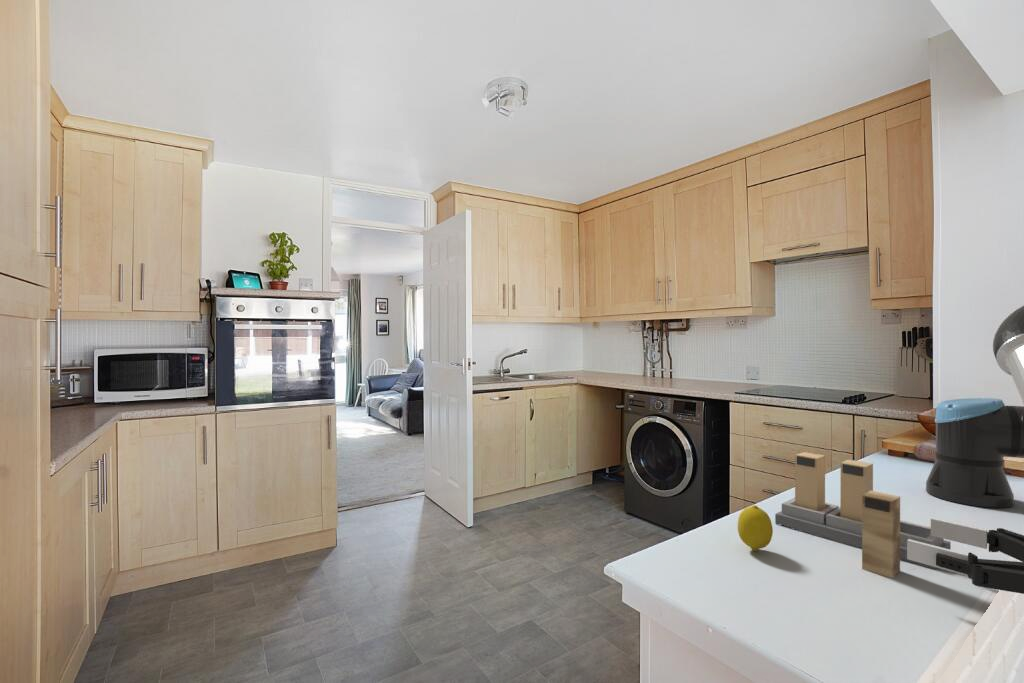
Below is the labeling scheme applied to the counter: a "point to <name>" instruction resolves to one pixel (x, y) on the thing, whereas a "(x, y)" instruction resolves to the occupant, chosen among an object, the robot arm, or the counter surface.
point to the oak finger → (881, 533)
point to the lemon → (755, 527)
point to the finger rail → (846, 519)
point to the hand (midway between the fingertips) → (919, 537)
